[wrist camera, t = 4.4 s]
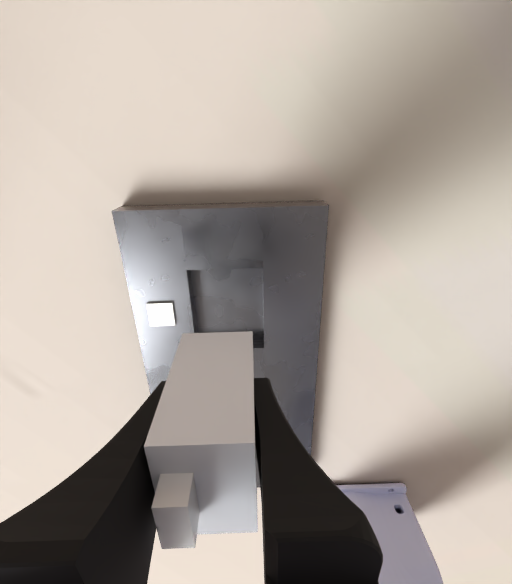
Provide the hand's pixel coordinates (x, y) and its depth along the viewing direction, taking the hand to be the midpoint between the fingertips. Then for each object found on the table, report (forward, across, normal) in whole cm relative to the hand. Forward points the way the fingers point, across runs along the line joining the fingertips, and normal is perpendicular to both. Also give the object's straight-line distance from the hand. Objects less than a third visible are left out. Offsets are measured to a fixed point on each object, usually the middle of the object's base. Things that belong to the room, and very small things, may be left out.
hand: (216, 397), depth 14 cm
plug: (+2, 0, 0) cm, 2 cm away
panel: (+9, 0, +6) cm, 11 cm away
